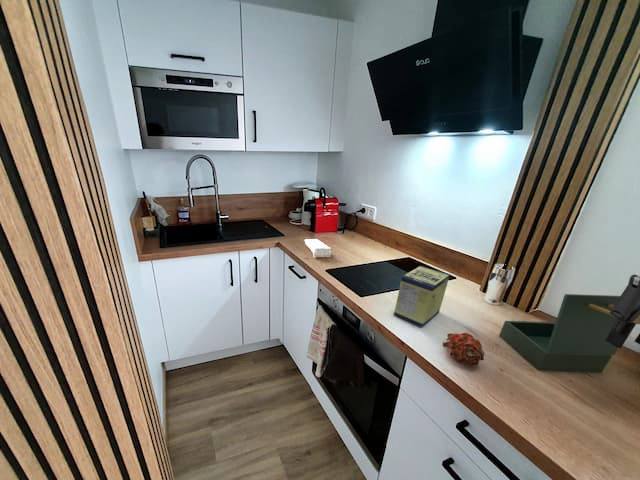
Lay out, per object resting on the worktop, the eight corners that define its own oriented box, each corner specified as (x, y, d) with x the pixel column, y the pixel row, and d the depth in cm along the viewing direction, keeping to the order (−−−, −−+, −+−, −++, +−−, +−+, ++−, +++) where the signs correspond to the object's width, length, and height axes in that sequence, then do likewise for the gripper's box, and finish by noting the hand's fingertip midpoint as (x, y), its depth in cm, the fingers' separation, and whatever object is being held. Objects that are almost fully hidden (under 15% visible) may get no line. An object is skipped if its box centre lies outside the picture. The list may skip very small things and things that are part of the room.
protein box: (439, 312, 105) (450, 273, 99) (422, 328, 95) (433, 286, 89) (411, 301, 112) (420, 265, 106) (392, 315, 102) (401, 276, 96)
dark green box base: (498, 335, 92) (504, 320, 90) (552, 337, 92) (560, 322, 90) (538, 370, 78) (546, 353, 76) (602, 372, 78) (612, 355, 76)
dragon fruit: (472, 379, 76) (443, 355, 88) (499, 362, 76) (467, 339, 87) (459, 357, 74) (431, 335, 86) (487, 339, 74) (455, 319, 85)
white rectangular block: (304, 251, 179) (315, 262, 152) (301, 240, 176) (312, 249, 150) (319, 247, 179) (333, 257, 153) (317, 235, 177) (330, 244, 150)
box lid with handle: (564, 293, 72) (607, 309, 62) (634, 296, 72) (687, 312, 62) (546, 351, 76) (583, 374, 67) (611, 353, 76) (658, 376, 67)
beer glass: (506, 306, 110) (520, 271, 104) (486, 304, 111) (499, 269, 105) (496, 298, 116) (509, 264, 110) (478, 296, 117) (490, 262, 111)
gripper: (711, 245, 60) (650, 336, 69) (619, 242, 60) (571, 333, 69) (766, 258, 53) (690, 357, 62) (663, 255, 53) (602, 354, 62)
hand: (627, 344), depth 65 cm, fingers closed on box lid with handle, 6 cm apart
